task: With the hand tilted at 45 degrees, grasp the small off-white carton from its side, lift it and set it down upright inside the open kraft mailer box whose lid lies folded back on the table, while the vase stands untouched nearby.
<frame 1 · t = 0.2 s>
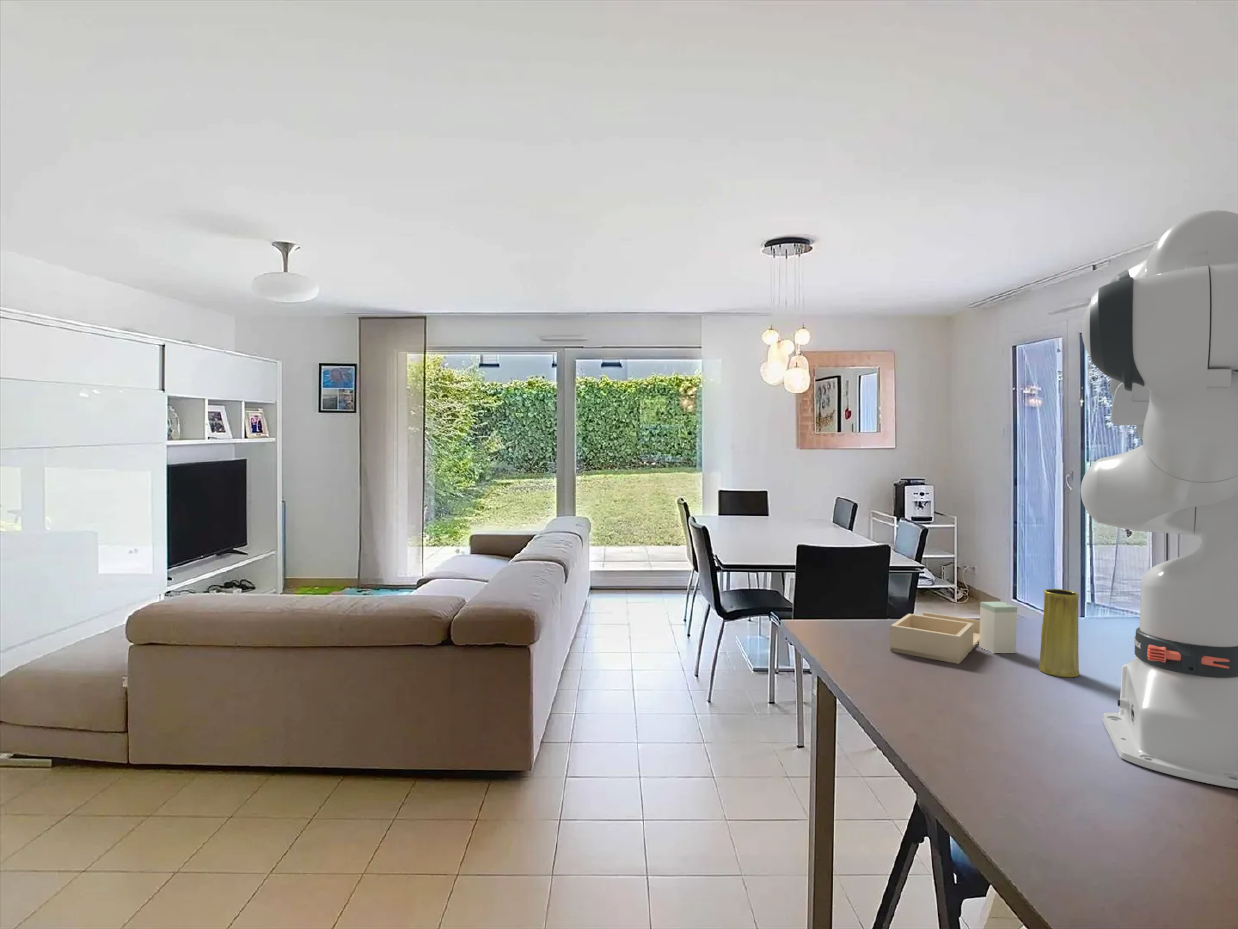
hand: (1186, 452, 115), 39 cm above the table, tool pointing down, fingers open, 8 cm apart
vase: (1058, 673, 125), on the table
carton: (997, 650, 138), on the table
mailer: (932, 650, 137), on the table
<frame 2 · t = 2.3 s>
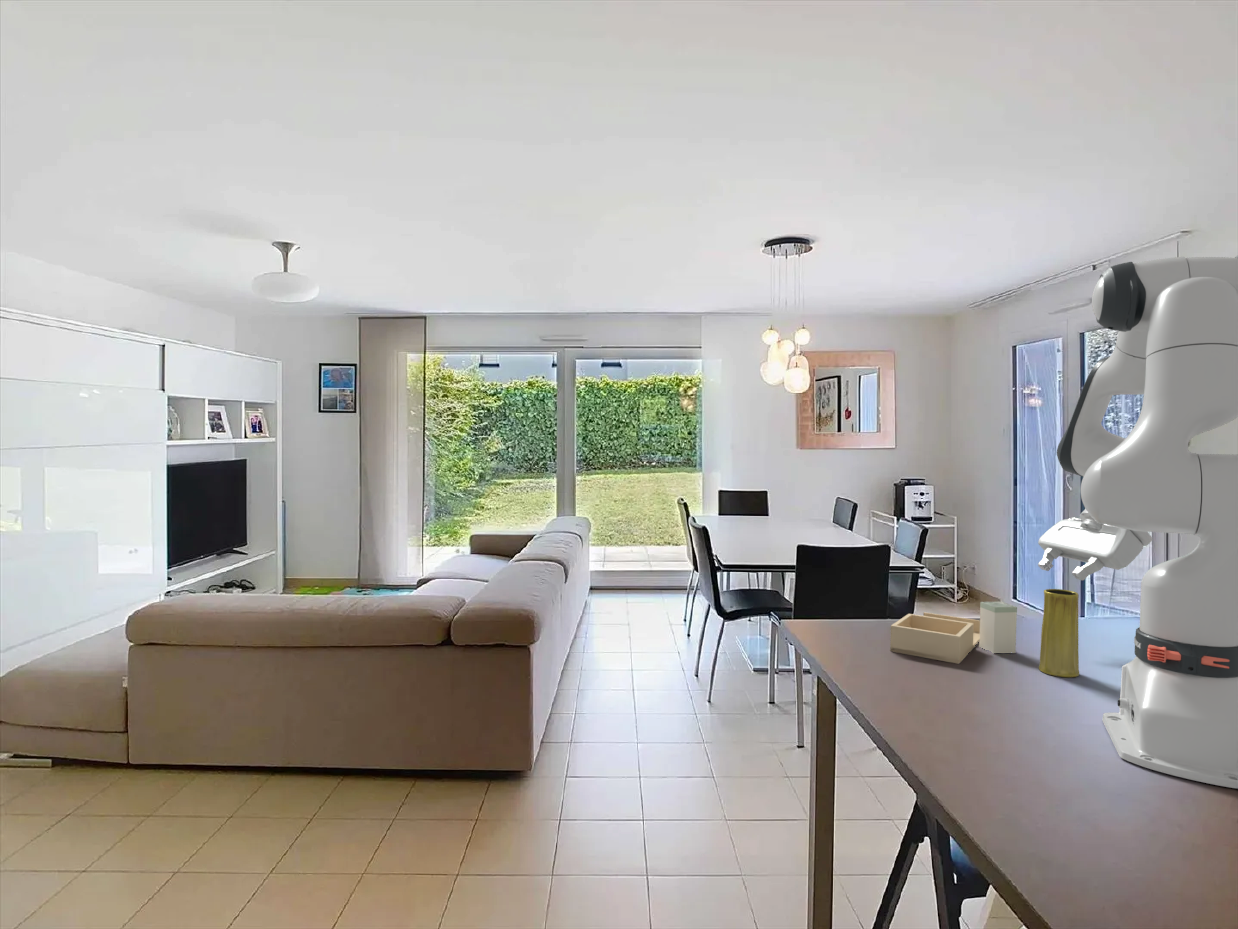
hand: (1059, 572, 138), 15 cm above the table, tool tilted 45°, fingers open, 8 cm apart
nothing on the table moved.
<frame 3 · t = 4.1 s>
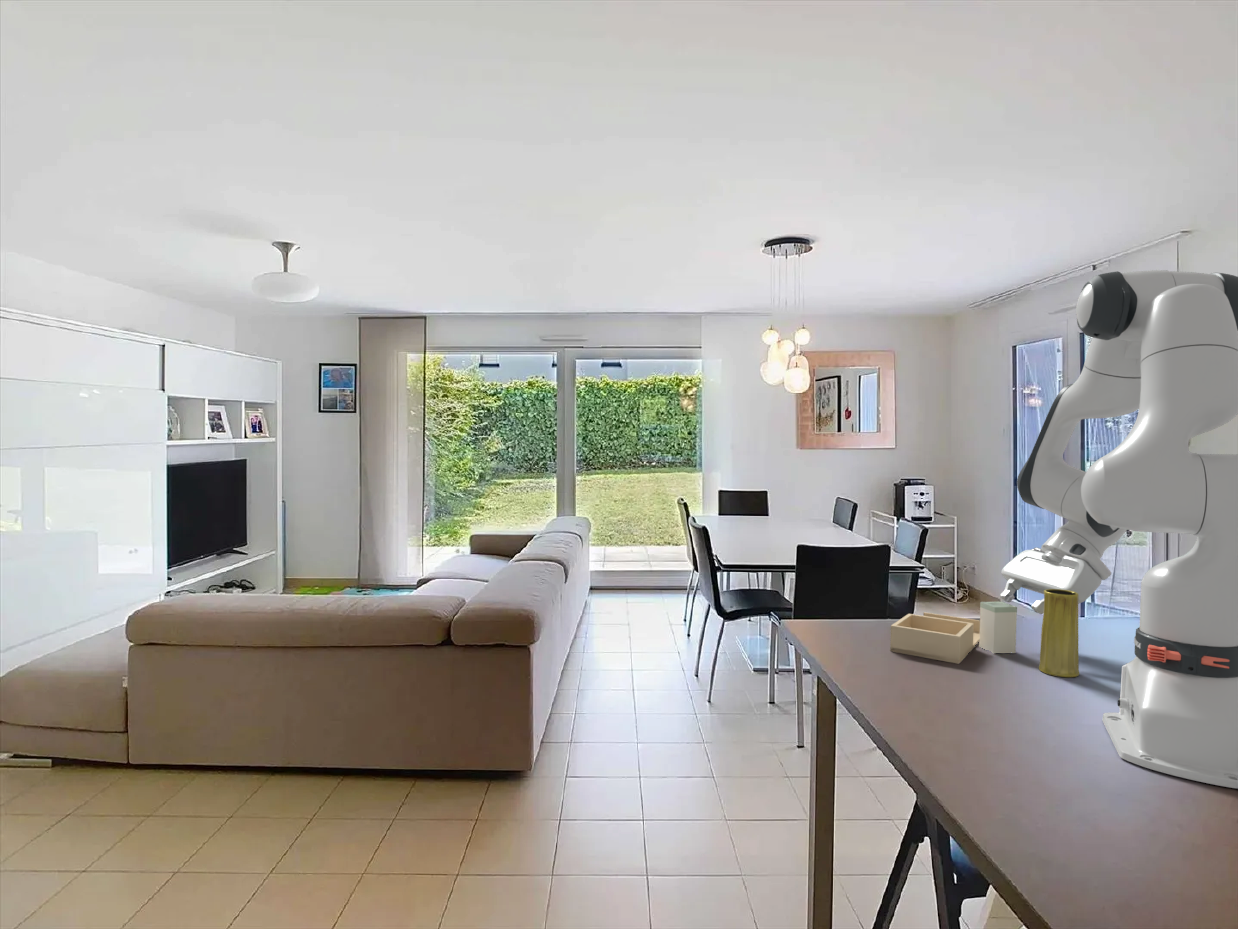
hand: (1019, 605, 138), 9 cm above the table, tool tilted 45°, fingers open, 8 cm apart
nothing on the table moved.
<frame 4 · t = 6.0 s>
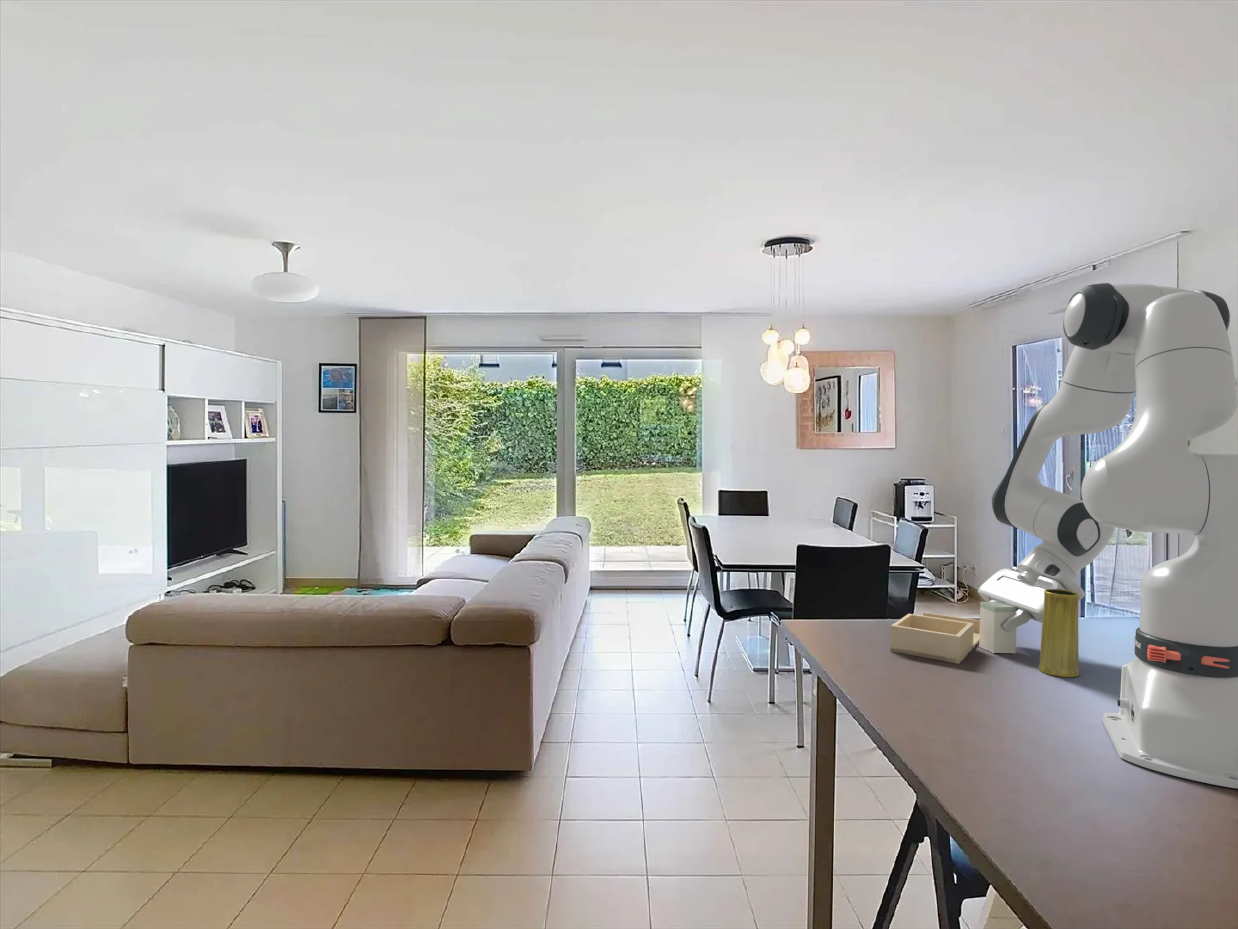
hand: (994, 625, 137), 5 cm above the table, tool tilted 45°, fingers closed on carton, 4 cm apart
carton: (997, 650, 138), on the table, touching gripper
everything else where it was.
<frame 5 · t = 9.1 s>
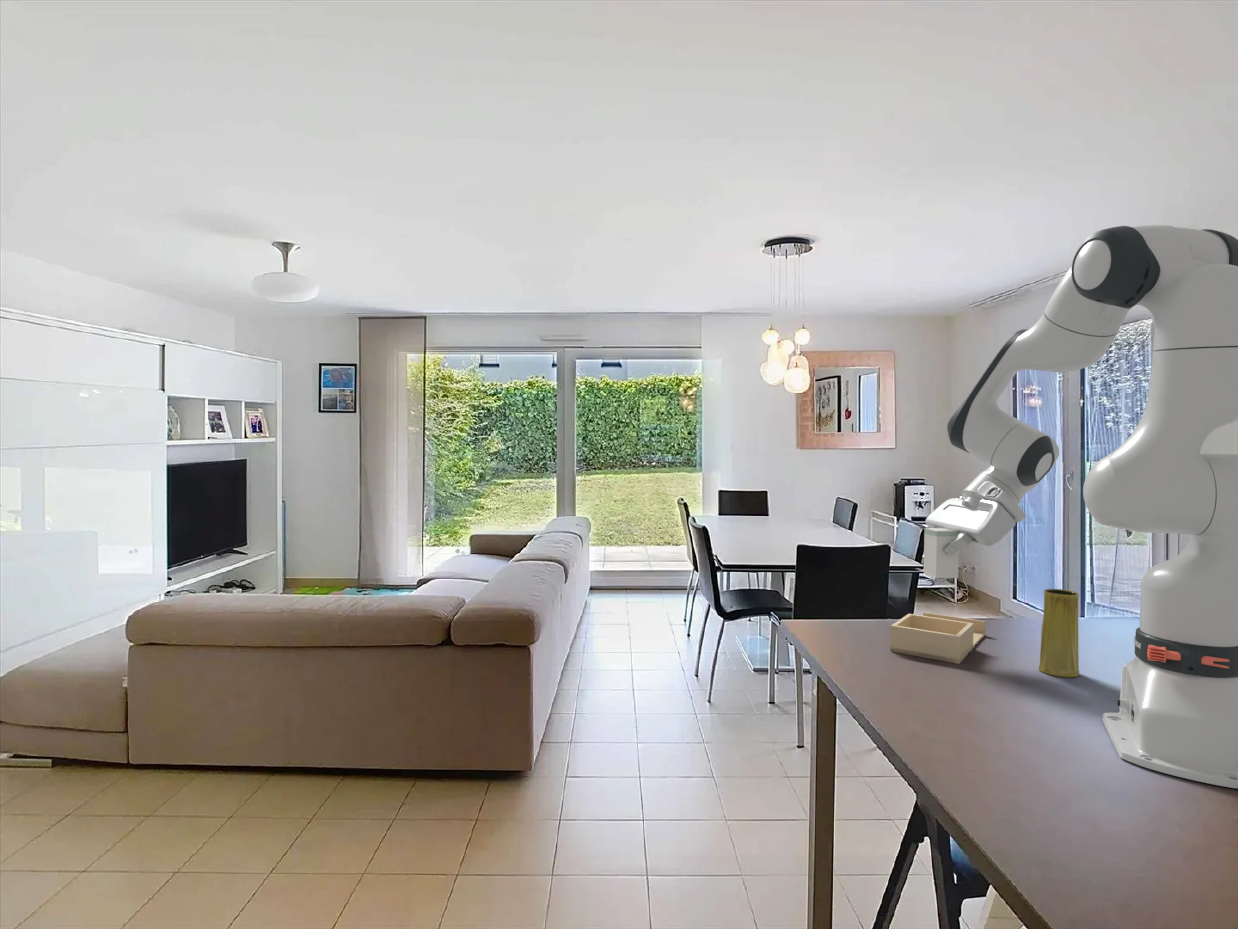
hand: (938, 550, 137), 19 cm above the table, tool tilted 45°, fingers closed on carton, 4 cm apart
carton: (940, 575, 137), point 14 cm above the table, touching gripper
everything else where it was.
when the fingers open (7 cm above the table, at t = 12.0 s): carton drops 1 cm, resting on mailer.
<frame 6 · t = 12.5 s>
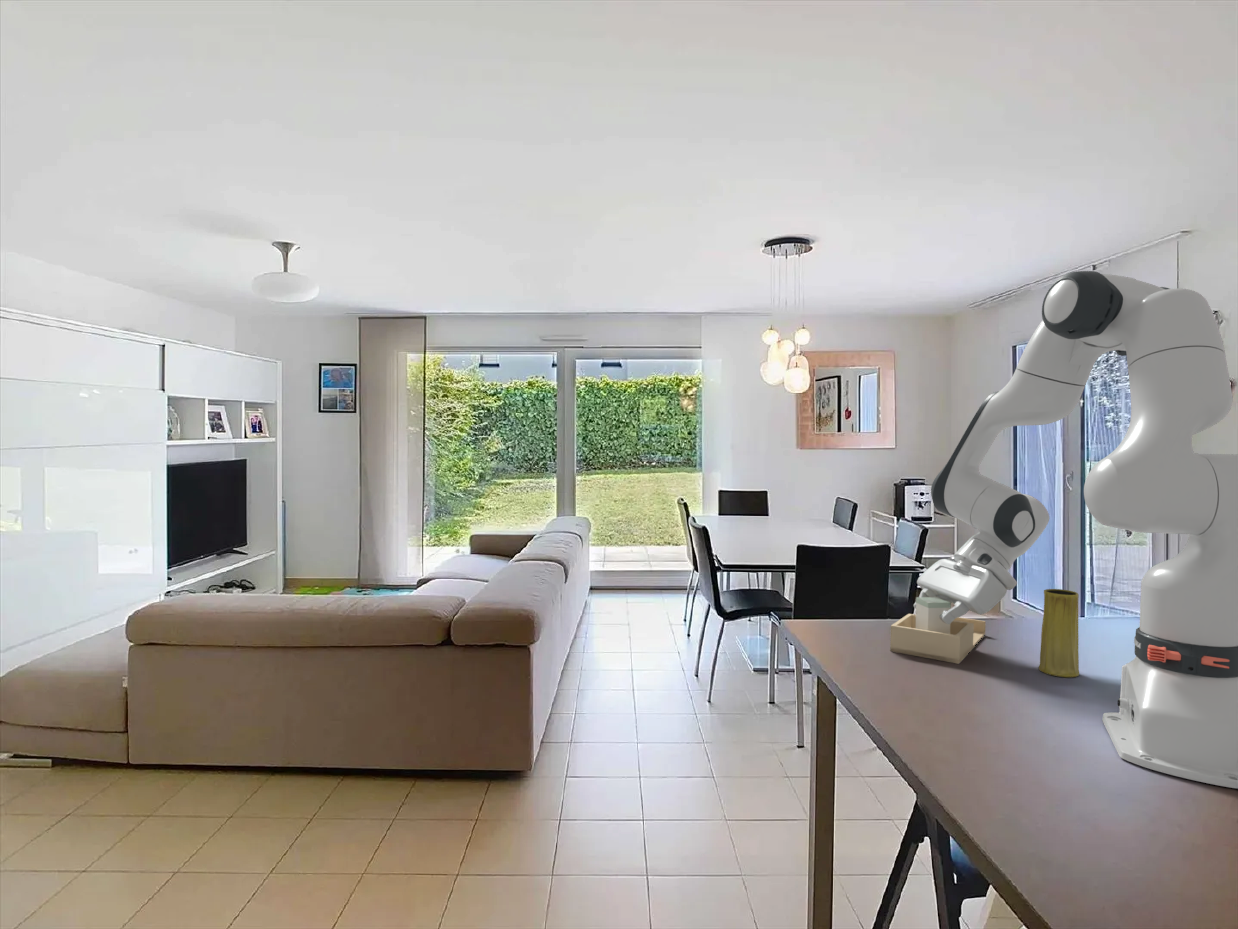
hand: (929, 615, 137), 7 cm above the table, tool tilted 45°, fingers open, 8 cm apart
carton: (932, 646, 137), point 1 cm above the table, touching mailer
everything else where it was.
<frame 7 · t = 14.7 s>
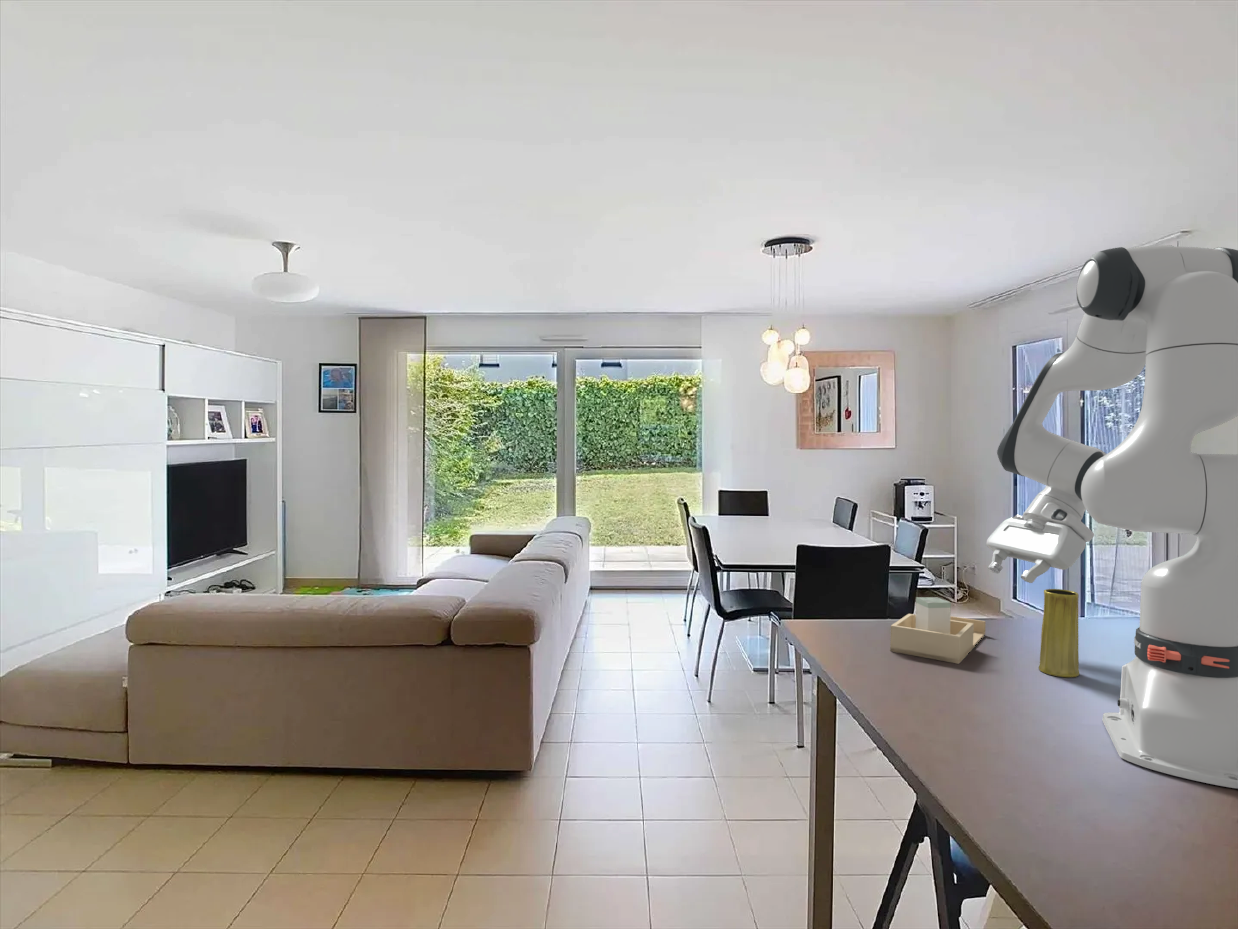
hand: (1008, 575, 139), 14 cm above the table, tool tilted 40°, fingers open, 8 cm apart
nothing on the table moved.
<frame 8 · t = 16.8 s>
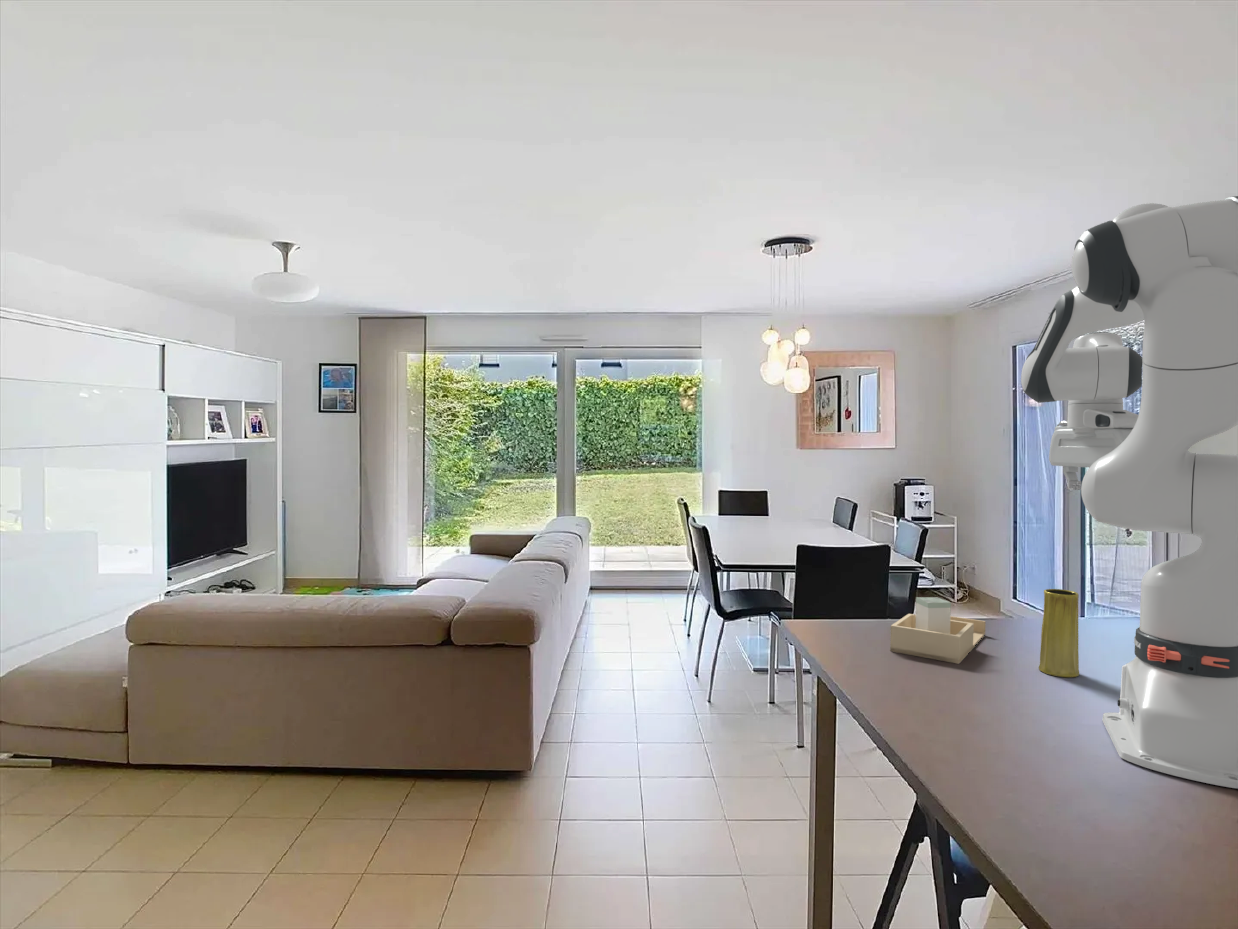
hand: (1092, 491, 136), 31 cm above the table, tool pointing down, fingers open, 8 cm apart
nothing on the table moved.
at the end: carton inside the target area on the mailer (0.0 cm from its centre), point 0.8 cm above the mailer's base; carton tilted 0°; the gripper is holding nothing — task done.
